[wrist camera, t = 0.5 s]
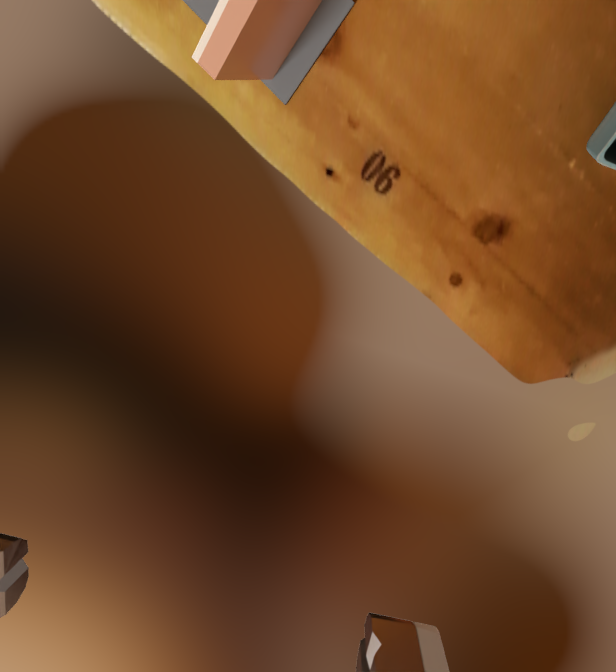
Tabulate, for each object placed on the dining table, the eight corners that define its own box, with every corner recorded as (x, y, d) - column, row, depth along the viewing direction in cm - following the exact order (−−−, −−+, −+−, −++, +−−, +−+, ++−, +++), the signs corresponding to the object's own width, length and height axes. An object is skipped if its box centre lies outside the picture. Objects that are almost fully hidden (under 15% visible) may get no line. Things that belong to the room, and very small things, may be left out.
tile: (328, -10, 39) (285, -53, 26) (272, 79, 44) (214, 80, 32) (311, -30, 38) (259, -83, 25) (256, 63, 44) (191, 57, 31)
